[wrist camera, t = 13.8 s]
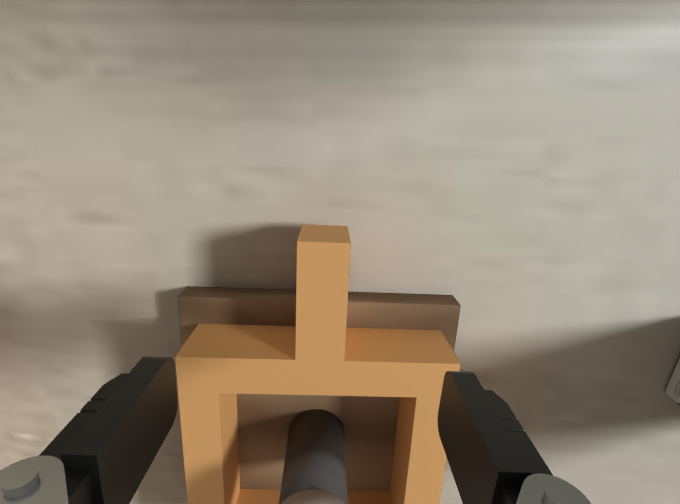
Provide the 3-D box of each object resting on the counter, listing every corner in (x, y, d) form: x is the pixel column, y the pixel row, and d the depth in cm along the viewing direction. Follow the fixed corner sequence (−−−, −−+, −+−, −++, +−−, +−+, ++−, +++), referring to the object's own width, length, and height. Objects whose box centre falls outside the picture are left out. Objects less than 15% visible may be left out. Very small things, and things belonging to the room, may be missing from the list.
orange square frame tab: (192, 220, 20) (164, 236, 17) (454, 230, 21) (478, 247, 17) (210, 511, 26) (193, 567, 22) (416, 514, 26) (429, 568, 23)
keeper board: (187, 286, 23) (71, 406, 12) (452, 295, 23) (548, 416, 13) (201, 496, 27) (124, 711, 17) (424, 498, 28) (479, 708, 18)
